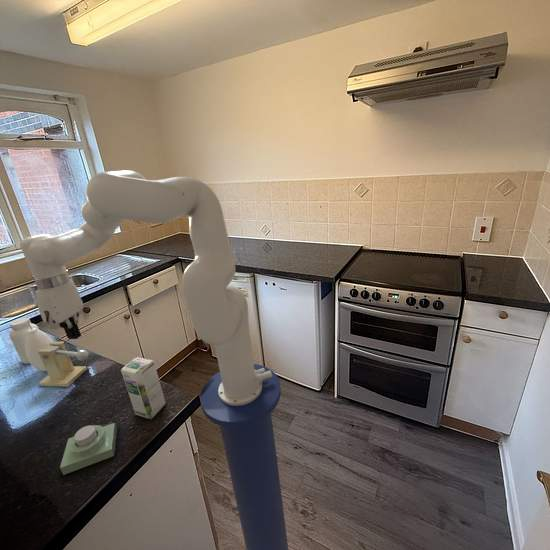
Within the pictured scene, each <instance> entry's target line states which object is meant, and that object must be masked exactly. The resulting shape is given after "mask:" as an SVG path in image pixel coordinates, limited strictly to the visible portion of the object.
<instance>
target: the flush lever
mask: <svg viewBox="0 0 550 550" xmlns="http://www.w3.org/2000/svg"><path fill="white" fill-rule="evenodd" d="M47 350H53V351H54V353H55V356H57V355H66V356H70V357H73V358H76V360H78V361H80V362H83V361H86V360H87V359H88V358H89V355H90V354H89V351H87V350H85V349H81V350H79V351H70V350H67V351H65V350H60V348H59V347H58V346H50V347H48V348H47Z"/></svg>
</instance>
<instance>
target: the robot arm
mask: <svg viewBox="0 0 550 550" xmlns="http://www.w3.org/2000/svg"><path fill="white" fill-rule="evenodd" d="M85 187H86V188H85V197H86V199H87V201H86V202H85V203H84V204H83V205H82V206H81V209H80V212H81V213H80V214H81V217H82V218H83V220H84V223H83V224H82V225H81V226H79V227H78V228H77V229H72V230H70V231H67V232H63V233H59V234H56V235H54V236H53V235H51V234H38V235H32V236H28V237H26V238H23V239H21V240H20V243H19V246H20V249H21V251H22V254H23V257H24V258H25V259H24V260H25V261H26V264H27V266H28V268H29V271H30V273H31V276H32V278H33V280H34V283H35V286H36V288H37V289H36V290H35V299H36V300H35V301H36V304H37V308H38V311H39V314H40V317H41V319H42V322H43V323H44V324H49V329H50V330H57V329H60V328H61V329H63V331H64V332H65V335H66V337H67V339H68V340H78V339H79V338H80V337H81V336H82V334H81V331H80V329H79V326H78V325H79V316H80V315H81V314H82V313H83V311H84V309H83V308H84V302H83V299H82V297H81V295H80V292H79V291H78V288H77V287H76V284H75V283H74V281H73V280H72V279H71V278H70V276H69V274H70V271H69V270H68V269H67V268H66V266H68V265H70V264H72V263H74V262H77V261H79V260H81V259H83V258H85V257H86V258H87V257H89V256H90V255H93V254H94V253H96V252H97V251H99V250H100V249H101V248H102V247H103V246H104V245H106V243H109V241H110V240H111V239H112V238H113V237H114V234H115V233H116V230H117V229H118V228H119V227H120V226H121V225H122V224H123V223H125V222H126V221H127V220H131V221H137V222H144V223H148V224H149V223H150V224H166V223H171V222H173V221H176V220H178V219H179V218H182V217H184V216H187V218H188V221H189V225H188V228H189V236H190V237H189V238H190V241H191V244H192V248H193V253H194V260H193V261H192V262H191V263H190V264H188V265H187V267H186V268H185V269H184V272H183V274H182V277H181V278H182V279H181V287H182V292H183V296H184V299H185V303H186V306H187V310H188V313H189V316H190V319H191V323H192V326H193V329H194V331H195V333H196V335H197V336H198V337H199V339H200V340H202V342H203V343H205V344H208V345H210V346H214V348H215V353H216V358H217V364H218V369H219V372H220V374H221V379H222V383H221V384H220V386H219V389H218V394H219V397H220V399H221V400H222V401H223V402H224V403H226V404H228V405H232V406H240V405H245V404H248V403H250V402H252V401H253V400H255V399H256V398H257V397H258V396H259V395H260V393H261V391H262V380H264V379H268V378H271V377H272V373H271V371H267V372H265V370H264V368H262V369H259V370H255V369H254V364H255V362H254V357H253V356H254V355H253V349H252V342H251V341H252V340H251V335H250V333H251V332H250V325H249V304H248V300H247V297H246V296H245V295H246V294H244V293H243V291H241V290H240V289H239V288H237V287H236V286H231V285H230V284H231V282H232V281H233V280H234V277H235V275H236V263H235V259H234V255H233V251H232V246H231V242H230V238H229V234H228V230H227V226H226V221H225V216H224V212H223V208H222V205H221V202H220V200H219V198H218V196H217V194H216V192H214V190H213V189H212V188H211V187H210V186H209V185H207V184H206V183H205V182H203V181H201V180H200V179H197V178H194V177H189V176H174V177H168V178H163V179H156V180H151V179H146V177H145V176H144V175H143V174H141V173H139V172H137V171H135V170H129V169H123V170H122V169H120V170H109V171H101V172H98V173H96V174H94V175H93V176H92V177H91V178H90V179H89V180H88V182H87V185H86V186H85ZM262 373H263V374H262Z"/></svg>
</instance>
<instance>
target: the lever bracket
mask: <svg viewBox="0 0 550 550" xmlns="http://www.w3.org/2000/svg"><path fill="white" fill-rule="evenodd" d="M49 344H50V346H58V347H59V348H60V350H65V351H68V349H67V346H66V345H65V342H64V341H53V342H51V343H49ZM38 353H39V355H40V357H41V359H42V361H43V364H44V366H45V368H46V370H47V371H46V372H47V375H46V376H45V377H44V378H43V379H41V380H40V381H39V382H38V384H39V386H41V387H63V388H64V387H68V388H69V387H70V386H71V385H73V383H74V382H75V381H76V380H77V379H78V378H80V377H81V375H83V374H84V373H85V372H86V371H87V370H88V368H87V366H82V365H81V366H79V365H78V366H77V365H76V366H75V365H74V363H73V361H72V359H71V356H66V355H57V356H55V353H54V351H53V350H47V349H40V350H39V351H38Z"/></svg>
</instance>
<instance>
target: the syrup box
mask: <svg viewBox="0 0 550 550" xmlns="http://www.w3.org/2000/svg"><path fill="white" fill-rule="evenodd" d="M120 372H121V375H122V378H123V381H124V384H125V387H126V391H127V393H128V397H129V399H130V402H131V406H132V408H133V411H134V415H136V416H139V417H142V418H145V419H149V420H153V418H154V417H155V416H156V415H158V413H160V411H161V410H162V409H163V407H165V405H166V404H167V403H166V400H165V395H164V393H163V389H162V386H161V381H160V379H159V373H158V372H157V368H156V363H155V361H154V359H149V358H145V357H139V356H137V357H135V358H133V359H132V360H130V361H129V362H128V363H127V364H125V366H123V367H122V368H121V369H120Z"/></svg>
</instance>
